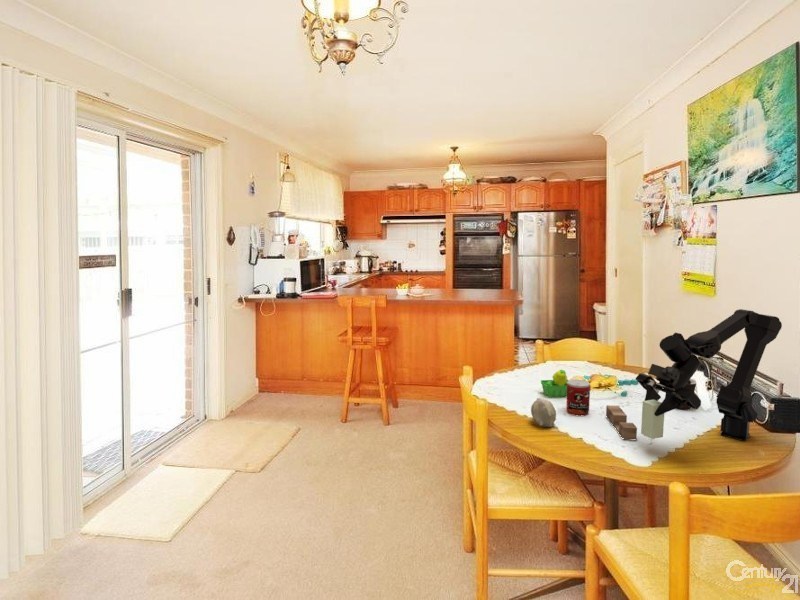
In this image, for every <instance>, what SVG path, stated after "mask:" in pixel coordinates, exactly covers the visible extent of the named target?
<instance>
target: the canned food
mask: <svg viewBox="0 0 800 600" xmlns="http://www.w3.org/2000/svg"><path fill="white" fill-rule="evenodd" d="M579 379H580V378H579ZM579 379H577V378H576V379H575V378H574V379H568V380H569V381H568V382H567V397H566V412H567V413H568V414H570V415H572V416H576V415H578V416H577V417H582V416H581V415H584V416H587V415H588V414H589V412H590V397H591V390H590V383H589V382H587V381H585V380H579ZM586 414H587V415H586Z"/></svg>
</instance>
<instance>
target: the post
mask: <svg viewBox="0 0 800 600" xmlns="http://www.w3.org/2000/svg"><path fill="white" fill-rule="evenodd" d="M661 403H662V401H659V400H658V401H656V400H654V399H653V400H647V401H644V400H642V406H641V407H642V410H641V411H642V412H641V426H640V427H641V429H640V434H641V435H643V436H645V437H647V438H648V439H651V440H653V439H654V440H655V439H660V438H663V437H664V428H665V427H664V423H665V413H664V414H662V415H659V416H655V415H654V413H655V412H656V410H657V408H658V407H659V406H660V404H661Z"/></svg>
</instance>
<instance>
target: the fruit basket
mask: <svg viewBox="0 0 800 600" xmlns="http://www.w3.org/2000/svg"><path fill="white" fill-rule="evenodd" d="M569 380H570V379H568V376H567V373H566V370H564V369H559V370H558V371H555V372H554V373H553V375H552V379H546V380H545V379H544V380H543V379H542V380H540V384H541V386H542V392H543V394H545V396H546V397H548V398H563V397H562V396H567V382H568V381H569Z"/></svg>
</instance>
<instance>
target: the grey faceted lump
mask: <svg viewBox="0 0 800 600" xmlns="http://www.w3.org/2000/svg"><path fill="white" fill-rule="evenodd" d="M530 413H531V416H532V419H534V421H535V423H536V424H537V425H538V426H540V427H546V428H550V427H551V428H552V427H553V426H556V424H555V422H556V419H557V418H556V417H557V411H556V409H555V407H554V404H553V403H552V402H551V401H550V400H548V399H545V398H540V397H537V398H536V400H535V401H533V403H532V405H531V407H530Z"/></svg>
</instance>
